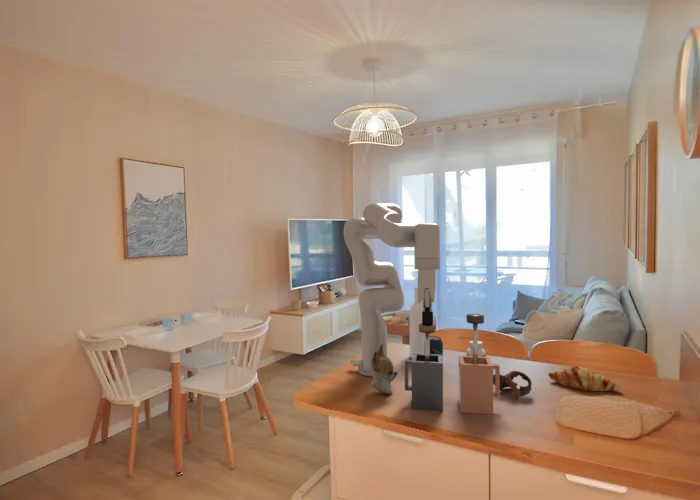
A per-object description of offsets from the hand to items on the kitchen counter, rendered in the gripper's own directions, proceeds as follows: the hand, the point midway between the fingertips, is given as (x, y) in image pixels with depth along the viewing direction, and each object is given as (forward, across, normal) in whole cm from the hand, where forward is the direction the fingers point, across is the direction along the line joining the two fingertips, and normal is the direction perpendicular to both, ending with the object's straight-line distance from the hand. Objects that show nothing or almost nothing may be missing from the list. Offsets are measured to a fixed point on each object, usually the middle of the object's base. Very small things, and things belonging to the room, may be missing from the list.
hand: (427, 324), depth 125 cm
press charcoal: (+24, 0, -1) cm, 24 cm away
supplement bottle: (+24, -27, +17) cm, 40 cm away
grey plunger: (+15, 0, +14) cm, 20 cm away
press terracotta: (+24, 0, +15) cm, 29 cm away
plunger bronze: (+18, 0, 0) cm, 18 cm away
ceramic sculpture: (+24, -6, -14) cm, 29 cm away
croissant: (+25, -24, +51) cm, 62 cm away
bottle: (+24, -49, -4) cm, 55 cm away
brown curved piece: (+25, -14, +26) cm, 39 cm away
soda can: (+24, -34, +2) cm, 42 cm away
